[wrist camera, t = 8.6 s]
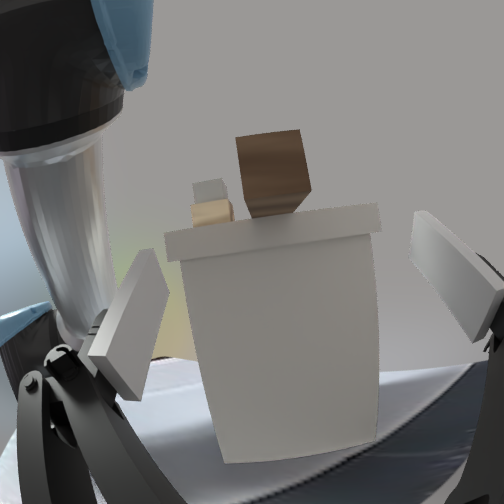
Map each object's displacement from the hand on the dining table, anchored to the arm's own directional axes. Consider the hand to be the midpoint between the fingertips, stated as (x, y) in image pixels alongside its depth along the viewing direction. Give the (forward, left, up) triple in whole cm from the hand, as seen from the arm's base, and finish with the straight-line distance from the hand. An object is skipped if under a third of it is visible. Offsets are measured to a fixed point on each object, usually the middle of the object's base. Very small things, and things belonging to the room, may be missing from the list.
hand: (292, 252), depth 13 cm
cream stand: (+15, +17, -27) cm, 35 cm away
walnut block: (+11, +13, +3) cm, 17 cm away
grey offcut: (+11, +25, +7) cm, 28 cm away
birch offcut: (+11, +25, +3) cm, 27 cm away
